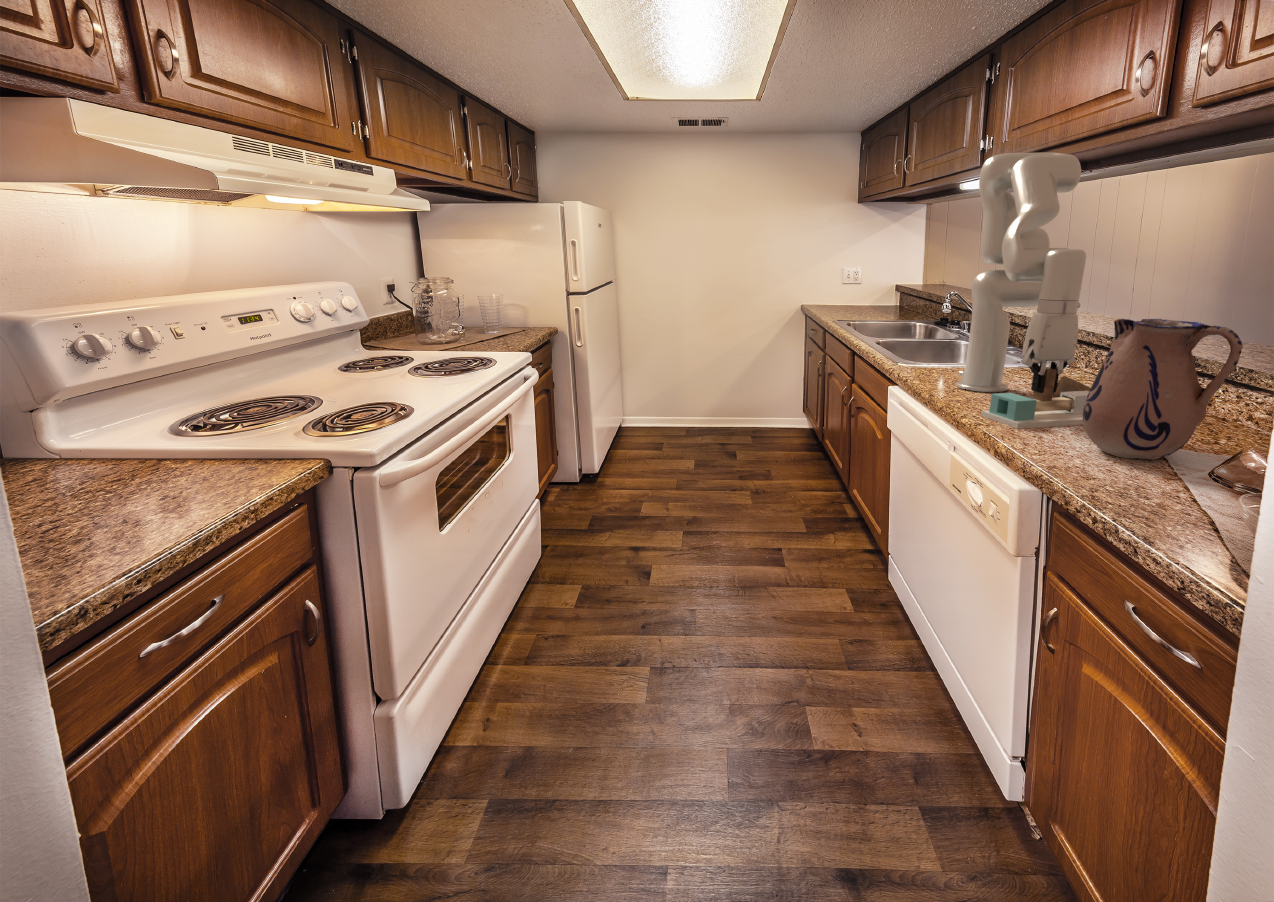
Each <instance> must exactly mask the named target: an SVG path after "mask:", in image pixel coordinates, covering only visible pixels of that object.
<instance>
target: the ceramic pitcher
mask: <svg viewBox="0 0 1274 902" xmlns="http://www.w3.org/2000/svg"><path fill="white" fill-rule="evenodd" d="M1113 325H1114V336H1113V339H1112V342H1111V346H1110V348H1109V351H1108V352H1107V355H1106V357H1105V358H1104V361H1103V363H1102V366H1101V367H1100V369H1099V370H1098V372H1097V374H1096V377H1095V378H1094V380H1093V383H1092V385H1091V387H1090V388H1091V389H1090V391H1089V393H1088V396H1087V398H1086V402H1085V405H1084V409H1083V428H1084V430H1085V433H1086V435H1087V437H1088V439H1090V441H1091V442H1092V443H1093V444H1094V445H1095V446H1096V448H1098V449H1099V450H1101V451H1102V452H1104V453H1106V454H1110V455H1112V456H1116V457H1119V458H1123V459H1144V460H1150V461H1151V460H1153V461H1155V460H1157V459H1162V458H1164V457H1166V456H1167V457H1168V456H1170V455H1172V454H1173V453H1176V452H1177V451H1178V450H1180V449H1182V448H1183V447H1184V446H1185V445H1186V444H1187V443H1188V442H1189V441H1190V440H1191V438H1192V437H1193V436H1194V433H1195V431H1196V429H1197V427H1198V426H1200V424H1202V423H1203V421H1204V420H1205V418H1206V417H1207V407H1208V404H1209V402H1210V400H1211V399H1212V397H1214V395H1215V393H1217V391H1219V389H1220V388H1221V387H1222V385H1223V384H1224V383H1225V382H1226V381H1227V379H1228V378H1229V377H1230V375H1231V374H1232V372H1233V371H1234V370H1235V368H1236V366H1237V365H1238V363H1239V360H1240V358H1241V357H1240V356H1241V354H1242V349H1243V347H1244V346H1243V342H1242V340H1241V338H1240V337H1239V335H1238V334H1237V332H1235V330H1233V329H1231V328H1228V327H1227V326H1219V325H1207V324H1205V323H1201V322H1198V321H1187V320H1186V321H1183V320H1174V319H1173V320H1171V319H1163V318H1143V319H1141V320H1136V321H1135V320H1133V319H1129V318H1119V319H1115V320H1114V321H1113ZM1211 335H1212V336H1220V337H1223V338H1224V339H1225V340H1226V341H1227V342H1228V344H1229V347H1230V348H1229V349H1230V352H1229V354H1228V356H1227V360H1226V361H1225V363H1224V365H1223V366H1222V368H1221V369H1220V371H1219V372H1218V374H1217V375H1215V376H1214V378H1213V379H1212V380H1211V381H1210V382H1209V383H1208V384H1207V385H1206V387H1202V385H1201V383H1200V382H1199V377H1198V374H1197V369H1196V365H1195V361H1194V356H1193V352H1192V351H1193V350H1194V349H1195V347H1197V345H1198V344H1199V342H1200V341H1202V339H1203V338H1206V337H1208V336H1211Z"/></svg>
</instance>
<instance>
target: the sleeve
mask: <svg viewBox="0 0 1274 902" xmlns="http://www.w3.org/2000/svg"><path fill="white" fill-rule="evenodd" d="M1088 393H1089V391H1073V392H1061V394H1060V397H1071V398H1073V403H1072V408H1071V410H1058V411H1060V412H1064V413H1067V414H1070V415H1083V409H1084V405H1085V402H1086V398H1087V396H1088Z"/></svg>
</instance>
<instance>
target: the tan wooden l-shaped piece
mask: <svg viewBox="0 0 1274 902" xmlns="http://www.w3.org/2000/svg"><path fill="white" fill-rule="evenodd" d="M1056 372H1057V370H1055V369H1051V368H1049V367H1046V369H1045V373H1044V375H1046V381H1045V388H1044V392H1043V393H1039V392H1035V391H1032V393H1033V394H1032V398H1031V399H1035V400H1037V402H1036V408H1035V412H1041V411H1058V410H1071V408H1072V403H1073V398H1071V397H1059V398H1052V396H1053V390H1054V384H1055V378H1056Z"/></svg>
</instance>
